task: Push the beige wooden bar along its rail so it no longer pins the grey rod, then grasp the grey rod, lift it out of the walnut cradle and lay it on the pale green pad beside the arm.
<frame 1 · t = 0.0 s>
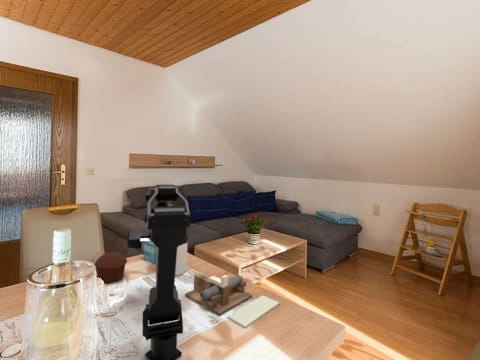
hand: (157, 252, 93), 15 cm above the table, tool tilted 35°, fingers open, 9 cm apart
mat: (254, 310, 86), on the table
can: (171, 271, 114), on the table
muffin: (111, 279, 104), on the table
grey rod: (224, 286, 92), point 5 cm above the table, touching cradle
cradle: (223, 299, 92), on the table
beige wooden bar: (218, 278, 89), point 8 cm above the table, slide at 0.0 cm
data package: (155, 261, 123), on the table
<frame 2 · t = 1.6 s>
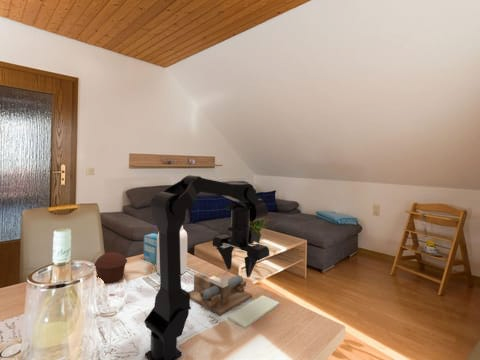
hand: (238, 273, 83), 13 cm above the table, tool pointing down, fingers open, 8 cm apart
nothing on the table moved.
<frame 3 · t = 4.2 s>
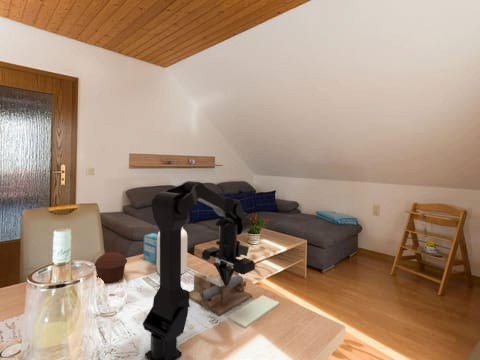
hand: (226, 285, 87), 7 cm above the table, tool pointing down, fingers closed
beige wooden bar: (215, 277, 90), point 8 cm above the table, slide at 1.3 cm, touching gripper
everything else where it was.
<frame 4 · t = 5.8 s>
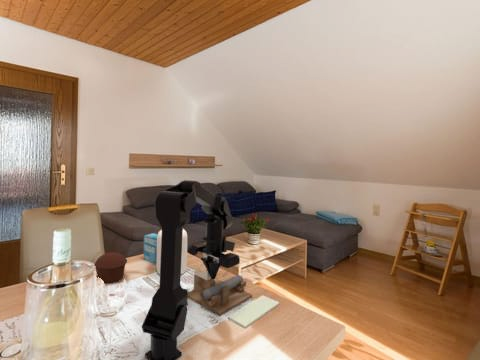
hand: (213, 279, 91), 7 cm above the table, tool pointing down, fingers closed
beige wooden bar: (203, 271, 94), point 8 cm above the table, slide at 7.5 cm, touching gripper
everything else where it was.
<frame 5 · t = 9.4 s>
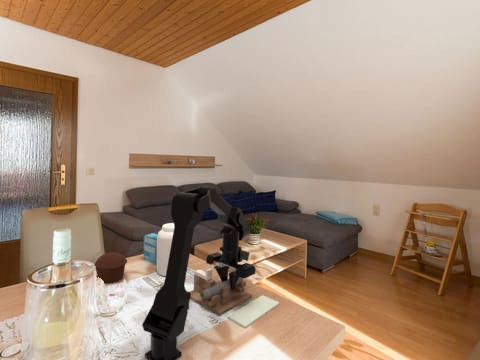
hand: (229, 287, 94), 3 cm above the table, tool pointing down, fingers closed on grey rod, 3 cm apart
grey rod: (224, 286, 92), point 5 cm above the table, touching cradle, gripper
beige wooden bar: (203, 271, 94), point 8 cm above the table, slide at 7.5 cm
everything else where it was.
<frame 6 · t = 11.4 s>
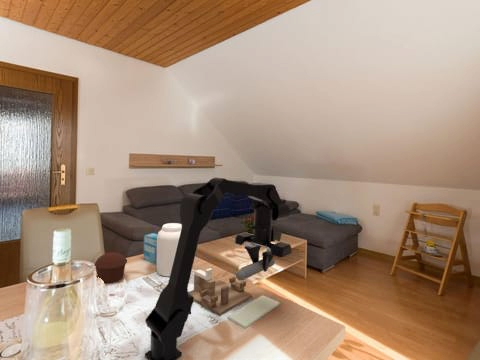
hand: (260, 269, 87), 13 cm above the table, tool pointing down, fingers closed on grey rod, 3 cm apart
grey rod: (256, 267, 85), point 14 cm above the table, touching gripper
everything else where it was.
when the fingers open (2 cm above the table, at t = 13.5 s): grey rod drops 1 cm, resting on mat.
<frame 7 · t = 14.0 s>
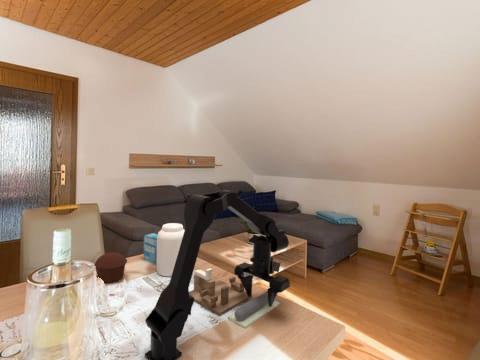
hand: (259, 301, 87), 2 cm above the table, tool pointing down, fingers open, 8 cm apart
grey rod: (255, 304, 85), point 2 cm above the table, touching mat
everything else where it was.
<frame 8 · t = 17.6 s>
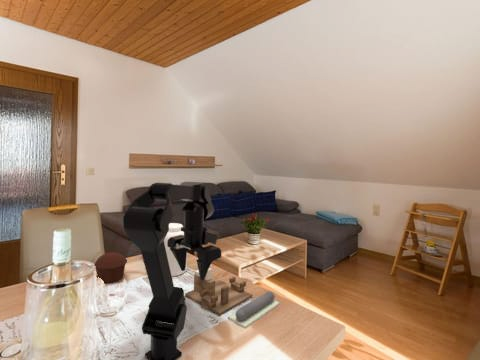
hand: (192, 275, 80), 13 cm above the table, tool pointing down, fingers open, 9 cm apart
grey rod: (256, 304, 85), point 2 cm above the table, tilted 17°, touching mat
everything else where it was.
at the end: beige wooden bar slide at 7.5 cm; grey rod inside the target area (0.4 cm from its centre), point 2.2 cm above the table; grey rod touching mat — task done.
